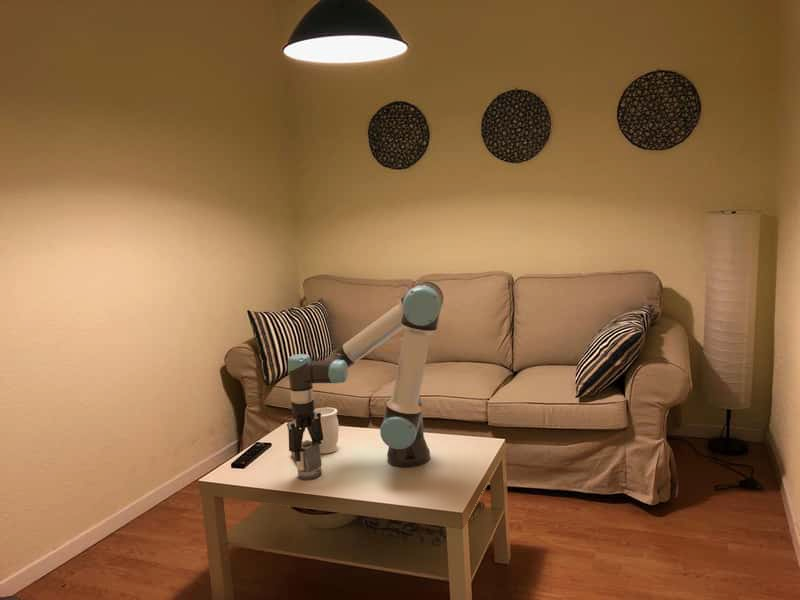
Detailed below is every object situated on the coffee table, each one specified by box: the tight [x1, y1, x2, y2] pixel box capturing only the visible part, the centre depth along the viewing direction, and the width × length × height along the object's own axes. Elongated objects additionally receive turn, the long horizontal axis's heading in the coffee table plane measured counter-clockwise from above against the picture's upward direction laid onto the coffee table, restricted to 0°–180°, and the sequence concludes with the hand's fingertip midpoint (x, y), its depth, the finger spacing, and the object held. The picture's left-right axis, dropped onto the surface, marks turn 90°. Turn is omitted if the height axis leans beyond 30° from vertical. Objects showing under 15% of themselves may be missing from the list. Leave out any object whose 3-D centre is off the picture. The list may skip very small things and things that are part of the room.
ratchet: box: [290, 451, 323, 482], centre depth 243 cm, size 26×8×7 cm, turn 21°
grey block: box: [295, 439, 323, 472], centre depth 234 cm, size 6×6×8 cm
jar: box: [313, 407, 340, 455], centre depth 257 cm, size 11×10×15 cm
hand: (308, 465), depth 234 cm, fingers open, 6 cm apart
